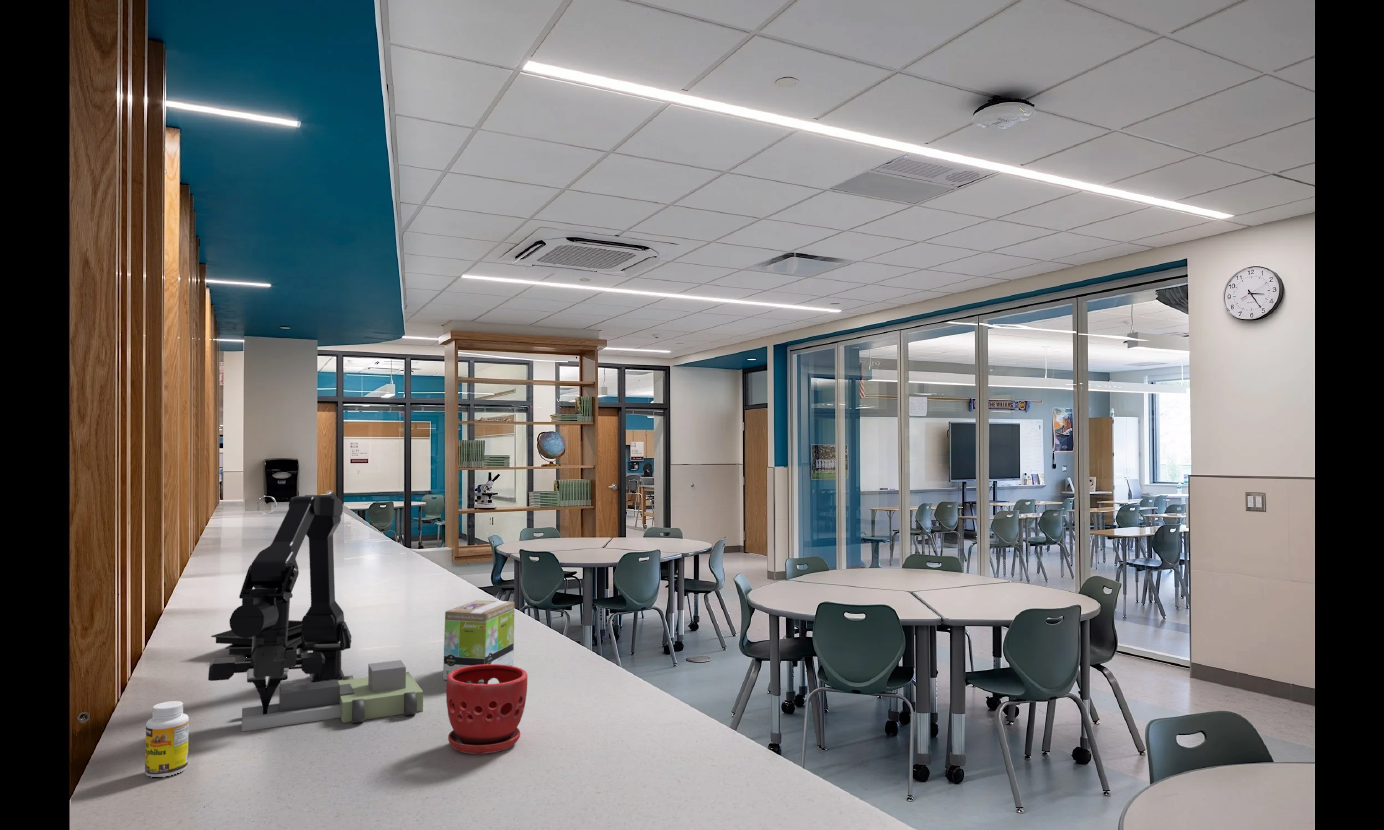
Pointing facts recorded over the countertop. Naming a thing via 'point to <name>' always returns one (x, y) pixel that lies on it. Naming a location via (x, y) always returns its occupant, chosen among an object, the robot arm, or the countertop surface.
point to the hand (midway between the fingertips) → (265, 713)
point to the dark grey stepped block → (308, 695)
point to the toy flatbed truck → (350, 700)
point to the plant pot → (485, 707)
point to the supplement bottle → (166, 740)
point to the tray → (245, 644)
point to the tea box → (478, 635)
